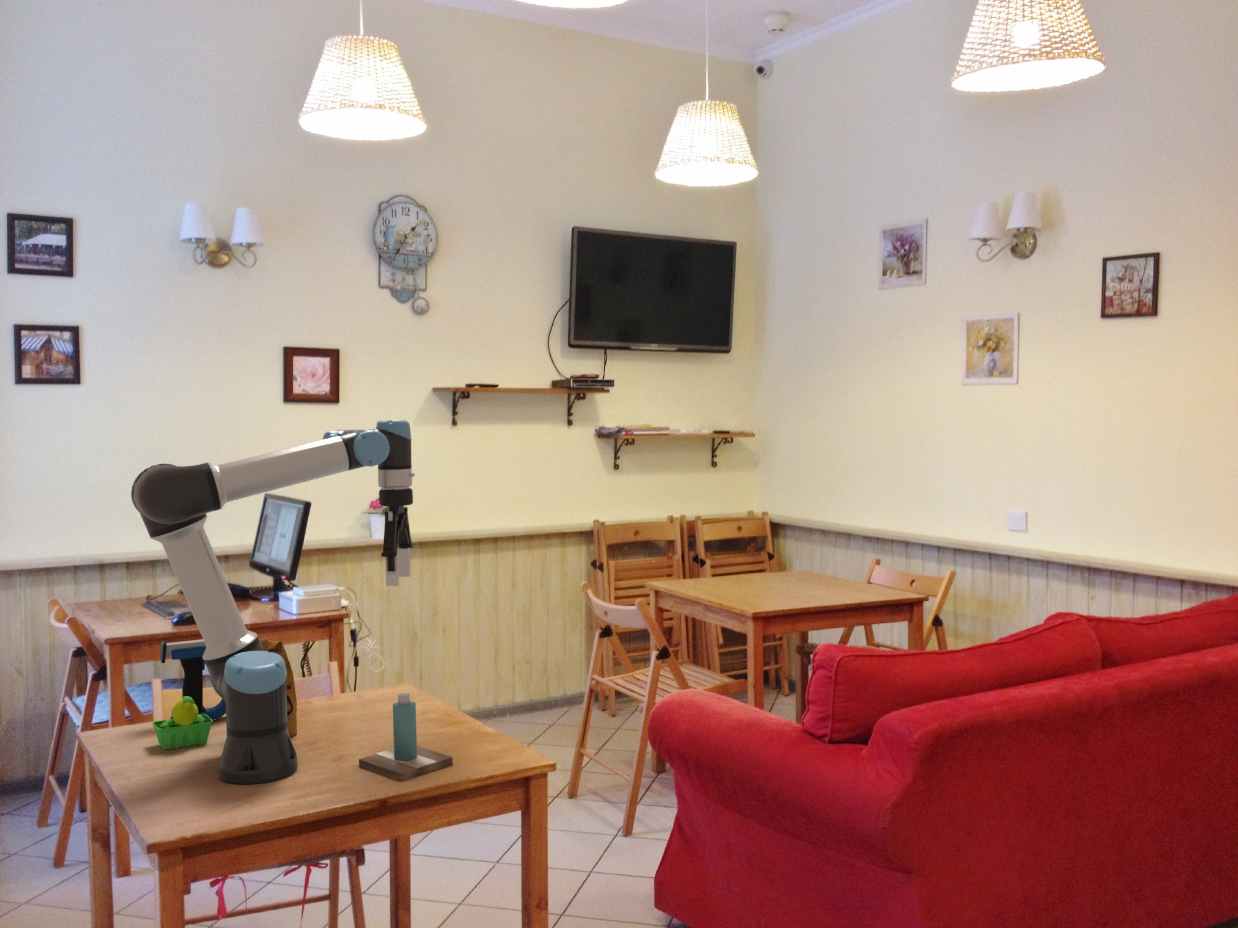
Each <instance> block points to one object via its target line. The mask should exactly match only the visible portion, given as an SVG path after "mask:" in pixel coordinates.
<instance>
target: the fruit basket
mask: <svg viewBox="0 0 1238 928" xmlns="http://www.w3.org/2000/svg"><path fill="white" fill-rule="evenodd" d="M170 714H171V716H172V717H173V719H171V718H169V719H163V720H157V721H153V722H152V725H153V726H152V727H153V728H154V730H155V734H156V737H157V740H158V744H160V745H161V746H160V745H159V746H160V748H162V750H163V749H165V750H164V751H167V750H166V749H169V750H171V749H170V748H173V749H177V748H176V747H181V748H184V747H183V746H185V747H190V746H189V745H193V746H197V745H196V744H199V745H204V744H203V743H205V744H207V742H208V739H209V736H210V732H211V731H210V730H211V728H212V727H211V726H212V724H213V722H214V721H212V720H211V719H210V718H209V716H208V715H206V714H201V715H198V708H197V706H196V705H195V704H194V701H193V699H192V698H191V697H189V696H185V697H183V698H182V697H181V698H180V699H179V700H177V702H176V703H175V704H174V706H173V707H172V709H171V713H170Z"/></svg>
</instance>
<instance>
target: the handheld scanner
mask: <svg viewBox="0 0 1238 928" xmlns="http://www.w3.org/2000/svg"><path fill="white" fill-rule="evenodd" d="M205 650H206V645H205V642H204V640H203V638H202V639H194V640H186V641H175V642H167V641H166V640H162V642H161V643H160V655H159V660H160V661H159V662H160V663H161V664H165V663H166V659H168V658H170V657H171V660H172V661H176V660H180V661H179V662H180V664H181V667H182V669H183V675H184V676H183V683H182V687H181V688H182V689H181V691H182V694H181V699H182V698H183V697H185V696H189V697H191V698H192V699H193V701H194V704H195V705H196V706H197V708H198V715H201V714H206V715H208V716H209V718H210V719H212V720H214V719H217V720H219V719H220V718H222V717H223V716H226V703H225V702H224V700H223V699H222V698H221V699H220V702H218V703H217V704H216V705H214V706H212V707H207V708H206V707H205V706H204V674H203V673H204V672H203V671H205V669H206V664H205V662H204V660H203V654H204V652H205ZM169 719H173V717H172V715H171V716H170V718H169Z"/></svg>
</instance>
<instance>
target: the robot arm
mask: <svg viewBox="0 0 1238 928" xmlns="http://www.w3.org/2000/svg"><path fill="white" fill-rule="evenodd" d="M375 466H377V484H378V485H377V486H378V487H379V488H381V489H379V490H378V501H379V502H378V503H379V504H378V505H380V506H381V507H388V511H385V512H384V530H383V544H382V552H381V557H382V558H384V559H385V561H384V562H385V565H384V566H385V586H386V587H399V586H400V578H404V577H405V578H406V577H407V578H408V577H411V576H412V575H411V549H414V543H412V537H411V530H410V529H411V528H410V522H409V514H408V512H409V511H408V510H409V508H408V506H411V505H412V504H413V503H414V495H413V494H414V493H413V492H414V491H413V489H412V488H410V487H411V486H412V485H413V478H414V477H415V473H414V472H413V471H412V467H413V465H412V435H411V424H410V423H409V422H408V420H405V419H393V420H390V419H389V420H378V421H377V422H376V427H375V428H368V429H367V428H366V429H336V430H327V431H326V432H324V434H323V436H322V439H321V440H317V441H313V442H308V443H305V444H301V445H296V446H292V447H288V448H285V449H284V448H283V449H280V450H275V451H271V452H268V453H263V454H259V455H255V456H251V457H246V458H241V459H239V460H238V459H237V460H235V461H228V462H226V463H221V464H217V465H214V464H212V463H210V461H209V462H204V463H200V464H195V465H194V464H193V465H186V466H185V465H184V466H183V465H182V466H180V465H179V466H178V465H174V464H172V463H159V464H155V465H151V466H149V467H147V468H145V469H144V470H142V471H140V473H139V474H138V475H137V476H136V477H135V479H134V481H133V483H132V486H131V493H130V494H131V495H130V498H131V502H132V504H133V507H134V508H135V509H136V510H137V512H138V513H139V515H140V517H141V519H142V522H143V523H144V526H145V528H146V530H147V534H148V536H149V538H150V539H151V540H154V541H157V542H159V543H160V544H161V545H162V547H163V550H164V552H165V554H166V556H167V560H168V561H169V564H170V566H171V569H172V571H173V572H174V576H175V577H176V580H177V582H178V584H179V587H180V589H181V591H182V594H183V596H184V599H185V600H186V603H187V605H188V607H189V610H190V612H191V614H192V616H193V619H194V622H195V624H196V626H197V628H198V631H199V633H200V634H201V637H202V639H203V640H204V642H205V645H206V650H205V652H204V654H203V660H204V662H205V668H207V671H208V673H209V675H210V682H211V685H212V687H213V690H214V691H215V693H216V694H217V695H218V696H219V697H220V698H221V700H222V699H223V700H224V702H225V703H226V714H225V718H226V719H225V722H226V738H225V742H224V745H223V748H222V752H221V756H220V758H219V763H218V766H217V767H218V778H219V780H221V781H223V782H225V783H231V784H237V785H239V784H243V785H250V784H261V783H267V782H272V781H275V780H280V779H284V778H286V777H287V776H288V777H289V776H290V775H292V774H294V773H295V772H296V771H297V770H298V767H299V766H298V756H297V755H298V754H297V753H296V750H295V747H294V744H293V742H292V739H291V737H290V736H289V733H288V729H287V693H286V678H287V670H286V667H285V661H284V659H283V658H282V657H281V656H280V655H279V654H276V653H273V652H271V653H269V652H268V651H264V650H263V647H262V645H261V643H260V640H259V639H260V638H259V636H258V633H256V632H254V631H251V630H249V629H247V627H246V625H245V621H244V619H243V617H242V615H241V613H240V610H239V608H238V606H237V603H236V601H235V599H234V596H233V594H232V591H231V589H230V587H229V585H228V582H227V580H226V577H225V576H224V575H225V574H224V573H223V569H222V568H221V565H220V563H219V561H218V559H217V556H216V554H215V551H214V548H213V547H212V544H211V542H210V540H209V537H208V535H207V532H206V530H205V527H204V526H205V523H206V521H207V519H208V515H207V514H208V513H212V512H215V511H220V510H222V509H223V507H224V506H225V504H227V503H229V502H233V501H237V500H241V499H244V498H249V497H253V496H255V495H259V494H263V493H267V492H271V491H275V490H278V489H283V488H287V487H290V486H294V485H298V484H302V483H306V482H310V481H315V480H317V479H321V478H324V477H325V478H326V477H330V476H332V475H336V474H340V473H344V472H348V471H353V470H357V469H360V468H364V467H372V468H373V467H375ZM410 548H411V549H410Z"/></svg>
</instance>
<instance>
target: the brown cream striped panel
mask: <svg viewBox="0 0 1238 928" xmlns="http://www.w3.org/2000/svg"><path fill="white" fill-rule="evenodd" d="M453 760H454V758H453V756H450V755H448V754H445V753H441V752H437V751H435V750H432V749H427V748H425V747H422V746H418V745H417V758H416V759H413V760H410V761H397V760H395V759H394V747H393V748H389V749H387V750H383V751H379V752H376V753H375V754H372V755H368V756H365V757H362V758H361V757H360V758H359V759H358V767H360V768H362V769H365V770H368V771H371V772H374V773H377V774H380V775H382V776H385V777H388V778H391V779H394V780H396V781H399V782H402V781H405V780H406V781H407V780H408V779H412V778H414V777H418V776H420V775H424V774H427V773H429V772H430V773H431V772H433V770H434V771H436V769H437V770H439V769H440V770H441V769H443V768H445V766H446V767H449V766H451V764H452V765H454V761H453ZM442 767H443V768H442Z"/></svg>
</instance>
